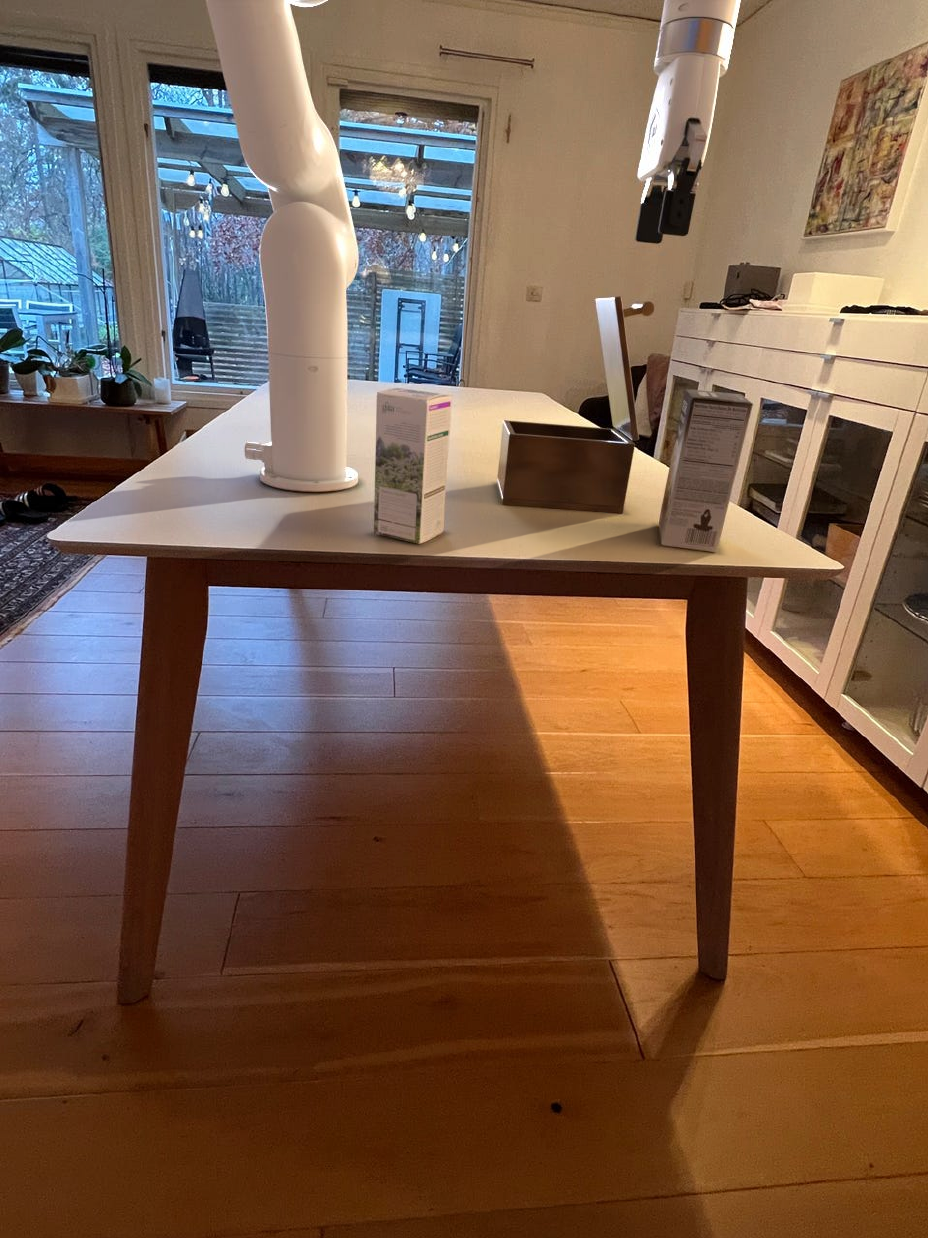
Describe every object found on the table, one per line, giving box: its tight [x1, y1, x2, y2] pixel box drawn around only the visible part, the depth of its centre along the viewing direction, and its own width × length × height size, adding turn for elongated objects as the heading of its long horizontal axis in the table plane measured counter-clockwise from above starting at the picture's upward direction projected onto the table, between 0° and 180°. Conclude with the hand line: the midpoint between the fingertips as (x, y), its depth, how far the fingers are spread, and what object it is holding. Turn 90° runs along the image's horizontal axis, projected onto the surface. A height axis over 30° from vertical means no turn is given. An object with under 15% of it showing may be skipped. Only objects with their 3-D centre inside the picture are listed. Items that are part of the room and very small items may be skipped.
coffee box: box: [658, 388, 754, 553], centre depth 77 cm, size 9×6×16 cm
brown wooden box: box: [496, 419, 636, 514], centre depth 92 cm, size 16×12×9 cm
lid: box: [595, 295, 656, 442], centre depth 87 cm, size 16×12×5 cm
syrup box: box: [373, 387, 453, 545], centre depth 71 cm, size 6×6×14 cm
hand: (659, 238), depth 80 cm, fingers open, 9 cm apart
